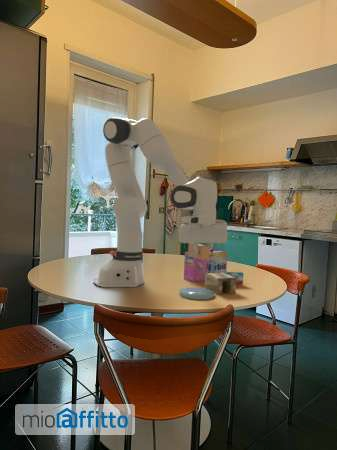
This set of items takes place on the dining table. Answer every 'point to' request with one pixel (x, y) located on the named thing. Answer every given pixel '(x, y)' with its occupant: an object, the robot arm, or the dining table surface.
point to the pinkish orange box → (203, 251)
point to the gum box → (204, 265)
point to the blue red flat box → (236, 274)
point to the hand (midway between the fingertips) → (202, 254)
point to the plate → (196, 293)
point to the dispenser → (220, 282)
